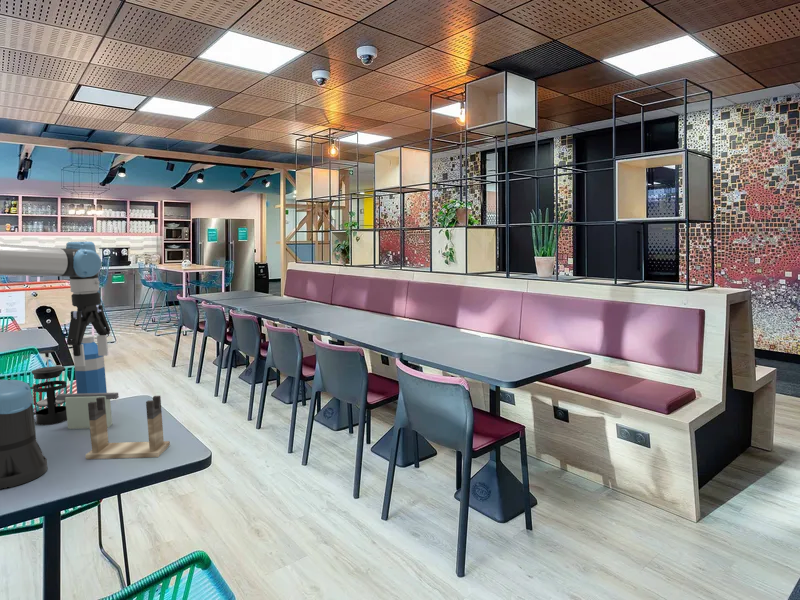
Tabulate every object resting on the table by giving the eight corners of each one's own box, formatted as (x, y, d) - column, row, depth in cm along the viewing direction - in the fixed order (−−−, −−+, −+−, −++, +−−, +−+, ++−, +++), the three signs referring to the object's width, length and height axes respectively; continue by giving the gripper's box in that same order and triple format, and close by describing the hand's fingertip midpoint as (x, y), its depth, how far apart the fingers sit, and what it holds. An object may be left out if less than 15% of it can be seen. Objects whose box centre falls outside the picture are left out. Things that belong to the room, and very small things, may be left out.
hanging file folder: (56, 430, 163) (53, 396, 161) (63, 425, 167) (60, 393, 165) (116, 428, 163) (113, 395, 162) (121, 424, 167) (119, 391, 166)
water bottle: (86, 413, 178) (80, 340, 175) (72, 408, 183) (65, 337, 180) (113, 405, 186) (108, 335, 183) (99, 401, 191) (93, 333, 188)
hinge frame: (85, 459, 141) (80, 405, 139) (101, 447, 149) (97, 395, 147) (158, 457, 142) (154, 403, 140) (169, 445, 150) (166, 394, 148)
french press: (72, 413, 179) (66, 346, 176) (72, 421, 171) (66, 351, 168) (30, 419, 173) (23, 350, 170) (28, 428, 165) (20, 356, 162)
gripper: (75, 297, 149) (82, 370, 151) (118, 287, 173) (123, 351, 176) (47, 297, 148) (55, 371, 151) (94, 288, 173) (100, 351, 176)
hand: (92, 360), depth 164 cm, fingers open, 13 cm apart
